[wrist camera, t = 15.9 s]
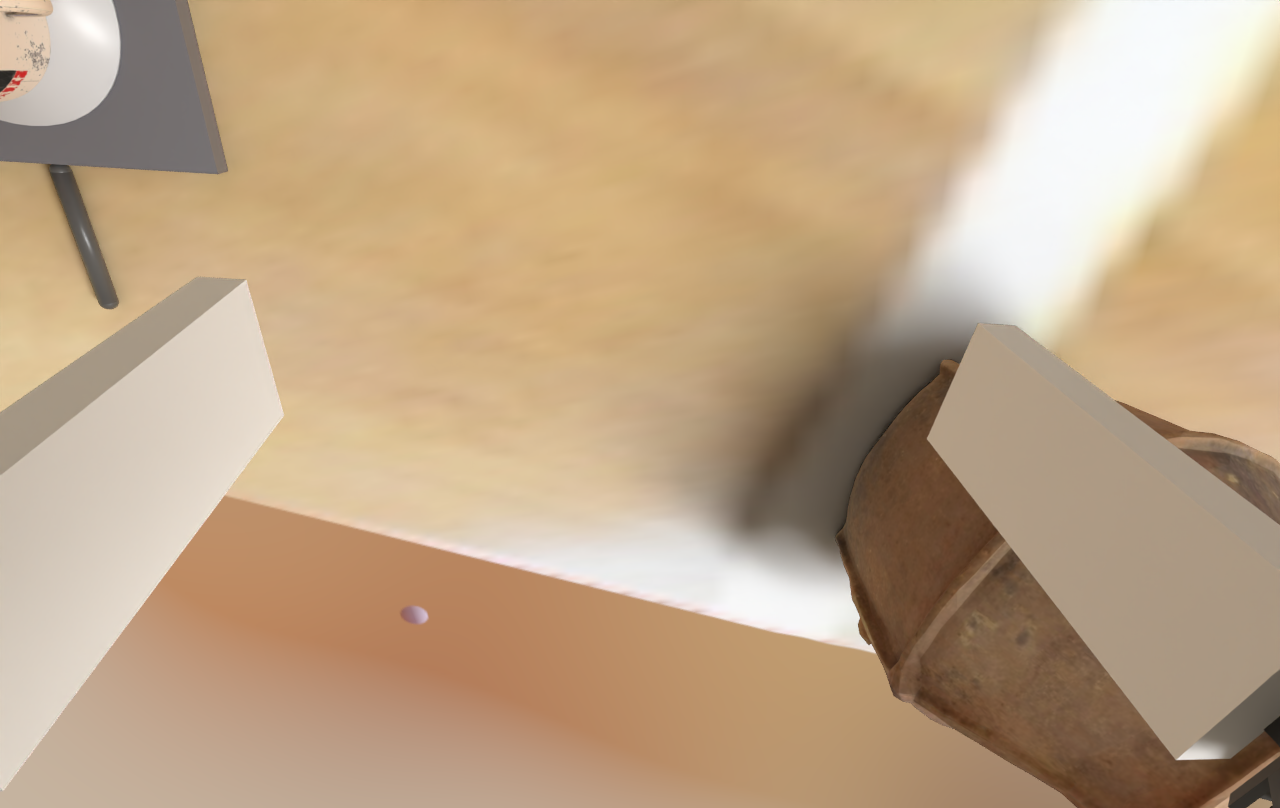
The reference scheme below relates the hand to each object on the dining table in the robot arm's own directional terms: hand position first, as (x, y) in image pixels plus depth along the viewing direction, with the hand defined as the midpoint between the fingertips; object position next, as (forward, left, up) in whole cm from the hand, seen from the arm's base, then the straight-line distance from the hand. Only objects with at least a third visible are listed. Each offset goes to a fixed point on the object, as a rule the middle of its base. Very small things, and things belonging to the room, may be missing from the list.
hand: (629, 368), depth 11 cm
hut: (+24, +34, -31) cm, 52 cm away
